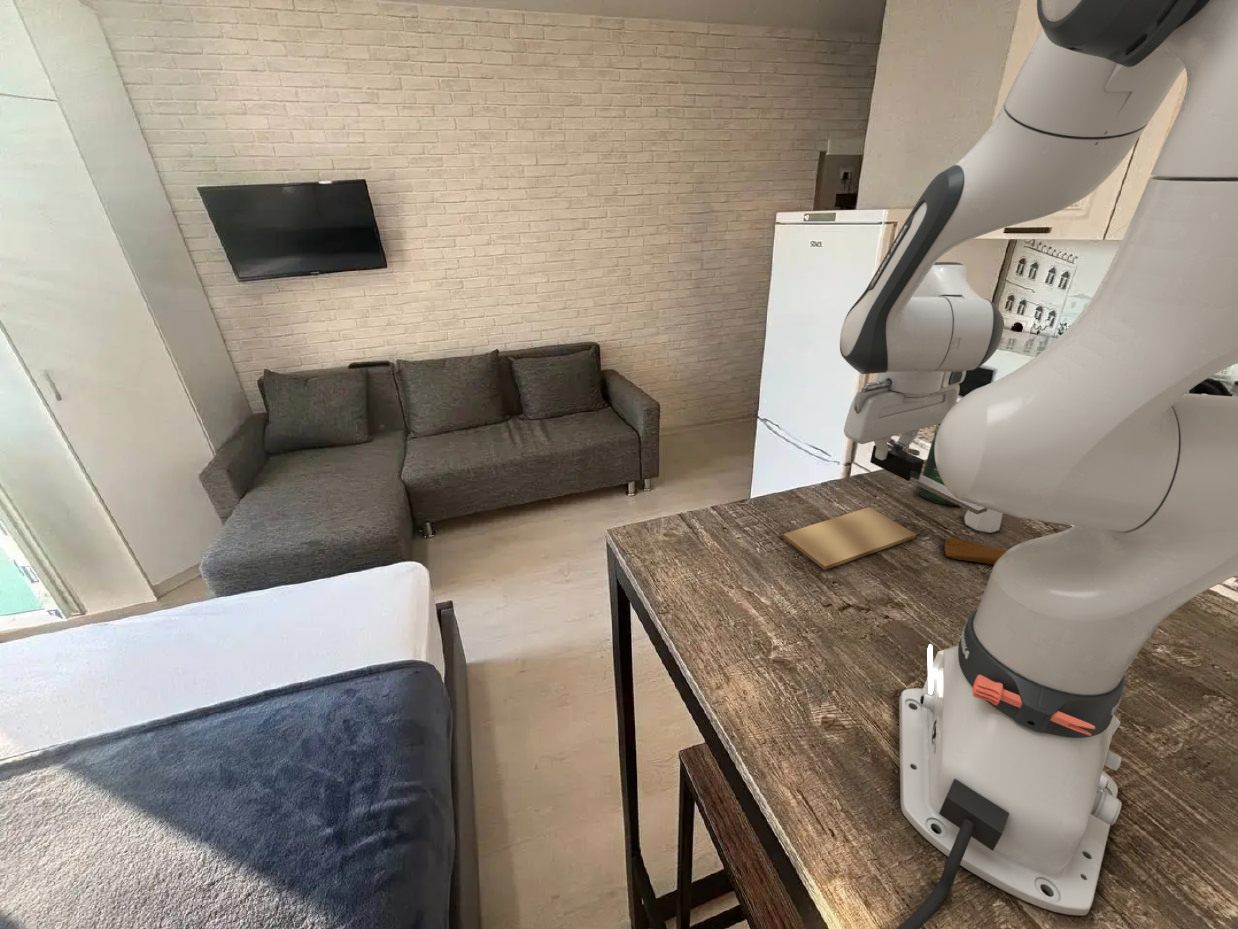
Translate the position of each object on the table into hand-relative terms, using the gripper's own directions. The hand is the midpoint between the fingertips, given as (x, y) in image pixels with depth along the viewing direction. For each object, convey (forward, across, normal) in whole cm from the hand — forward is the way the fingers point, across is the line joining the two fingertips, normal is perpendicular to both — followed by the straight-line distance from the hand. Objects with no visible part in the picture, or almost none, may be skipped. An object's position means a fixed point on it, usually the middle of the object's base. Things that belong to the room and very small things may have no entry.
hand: (890, 455), depth 84 cm
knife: (+2, 0, -7) cm, 7 cm away
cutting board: (+14, -6, 0) cm, 16 cm away
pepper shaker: (+14, +17, -8) cm, 24 cm away
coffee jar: (+14, +21, +2) cm, 25 cm away
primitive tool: (+14, +10, -17) cm, 25 cm away
